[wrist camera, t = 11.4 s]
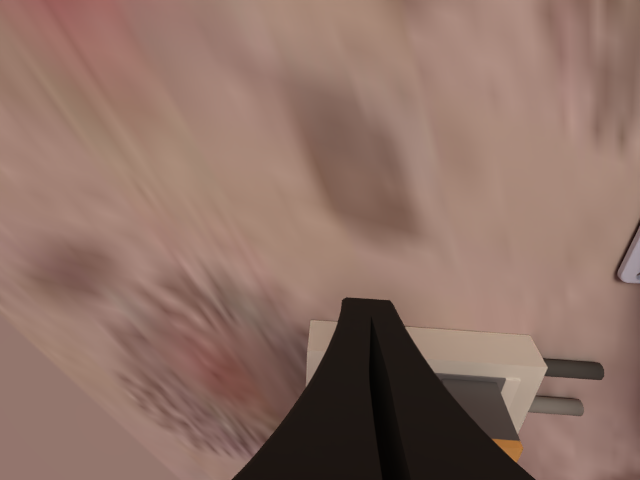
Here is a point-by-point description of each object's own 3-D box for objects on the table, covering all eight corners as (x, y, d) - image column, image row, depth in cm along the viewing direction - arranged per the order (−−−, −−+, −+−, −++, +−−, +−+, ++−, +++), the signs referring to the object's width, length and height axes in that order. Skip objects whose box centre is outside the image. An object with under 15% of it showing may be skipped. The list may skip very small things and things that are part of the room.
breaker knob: (496, 382, 23) (523, 448, 19) (477, 433, 25) (498, 501, 21) (442, 378, 23) (458, 443, 19) (427, 430, 25) (440, 496, 22)
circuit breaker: (529, 335, 24) (549, 370, 22) (495, 422, 28) (508, 459, 26) (310, 320, 25) (307, 352, 22) (307, 408, 29) (303, 443, 26)
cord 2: (577, 395, 26) (585, 409, 26) (572, 406, 27) (579, 419, 26) (499, 390, 27) (505, 403, 26) (496, 400, 27) (500, 413, 26)
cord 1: (597, 359, 25) (606, 371, 24) (591, 370, 25) (599, 383, 24) (514, 353, 25) (520, 365, 24) (509, 364, 25) (515, 377, 25)
